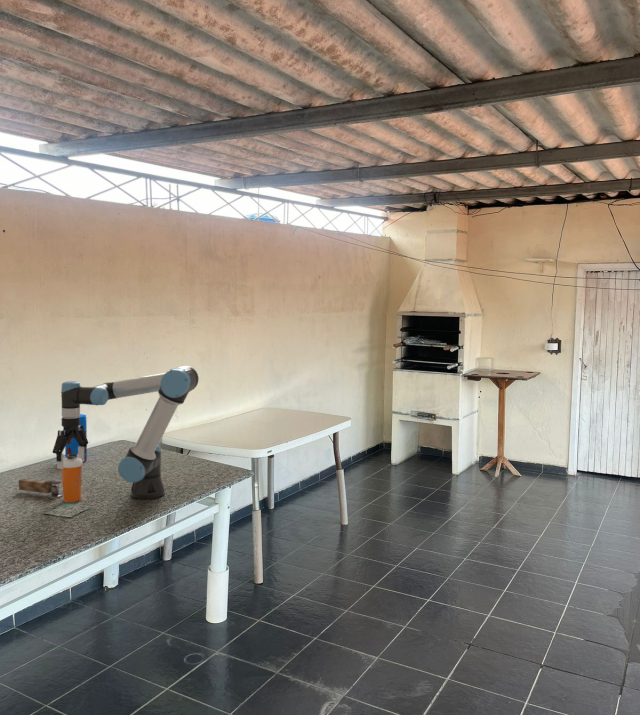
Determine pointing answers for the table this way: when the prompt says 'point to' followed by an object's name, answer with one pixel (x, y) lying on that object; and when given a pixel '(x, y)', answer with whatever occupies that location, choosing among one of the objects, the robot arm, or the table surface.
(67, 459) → the shaker bottle
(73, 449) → the thermos
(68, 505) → the mat
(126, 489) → the table surface
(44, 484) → the bar
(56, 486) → the grey curved piece
